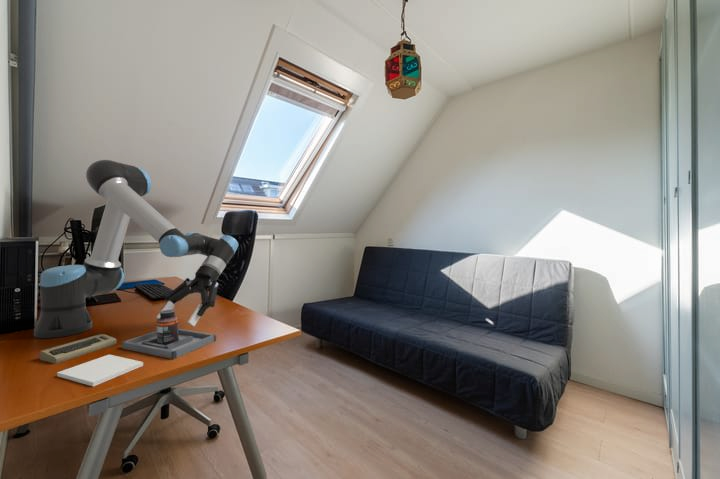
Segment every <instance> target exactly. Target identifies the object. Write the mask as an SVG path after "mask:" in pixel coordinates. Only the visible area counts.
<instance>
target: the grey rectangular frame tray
mask: <svg viewBox="0 0 720 479" xmlns="http://www.w3.org/2000/svg"><path fill="white" fill-rule="evenodd" d="M178 333H179V341H176V342H173V343H171V344H168V345H161V344H157V330H155V331H153V332H149V333H146V334H143V335H140V336H136V337H133V338H130V339H127V340H124V341H121V349H123V350H129V351H133V352H137V353H141V354H147V355H152V356H157V357H161V358H165V359H170V360H175V359H177V358H180V357H182V356H184V355H187V354H189V353H191V352H193V351H195V350H198V349H200V348H203V347H205V346H207V345H210V344H212V343H214V342H216V341H217V334H213V333H207V332H201V331H196V330H195V331H194V330H188V329H182V328H178Z"/></svg>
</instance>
